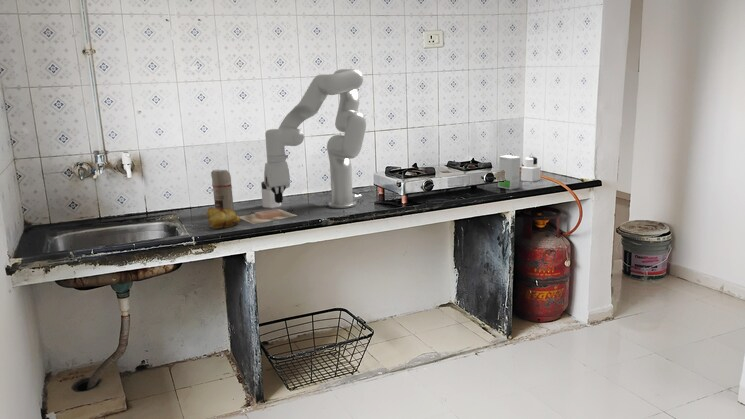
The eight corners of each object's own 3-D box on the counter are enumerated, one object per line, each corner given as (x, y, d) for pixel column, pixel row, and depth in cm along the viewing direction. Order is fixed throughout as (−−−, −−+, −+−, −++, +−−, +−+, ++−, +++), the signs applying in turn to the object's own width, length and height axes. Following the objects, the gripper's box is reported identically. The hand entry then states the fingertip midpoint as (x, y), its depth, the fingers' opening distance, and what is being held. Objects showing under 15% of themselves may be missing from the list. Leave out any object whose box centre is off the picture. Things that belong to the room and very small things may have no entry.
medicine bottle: (529, 178, 325) (529, 155, 322) (540, 180, 320) (541, 157, 317) (520, 180, 321) (521, 157, 318) (532, 182, 315) (532, 158, 313)
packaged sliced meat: (279, 211, 270) (279, 209, 270) (297, 218, 258) (297, 215, 257) (237, 219, 259) (236, 216, 259) (253, 226, 246) (253, 224, 246)
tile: (273, 209, 263) (254, 212, 258) (281, 211, 258) (261, 215, 253) (274, 212, 264) (254, 216, 259) (281, 215, 258) (262, 219, 253)
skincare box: (498, 187, 305) (498, 156, 302) (507, 185, 309) (507, 154, 305) (511, 189, 299) (511, 157, 295) (520, 187, 302) (520, 156, 299)
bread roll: (239, 222, 256) (237, 203, 254) (243, 227, 247) (241, 207, 245) (207, 225, 251) (205, 206, 250) (210, 231, 243) (208, 211, 241)
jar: (266, 211, 272) (264, 184, 270) (259, 208, 279) (257, 182, 276) (285, 208, 277) (283, 181, 274) (277, 205, 284) (275, 179, 281)
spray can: (211, 214, 270) (207, 169, 265) (228, 211, 275) (224, 166, 270) (220, 217, 264) (216, 171, 259) (237, 214, 269) (233, 168, 264)
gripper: (287, 156, 263) (290, 198, 268) (255, 160, 255) (258, 203, 259) (296, 158, 257) (298, 201, 262) (263, 162, 249) (266, 206, 253)
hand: (278, 202), depth 260 cm, fingers closed
